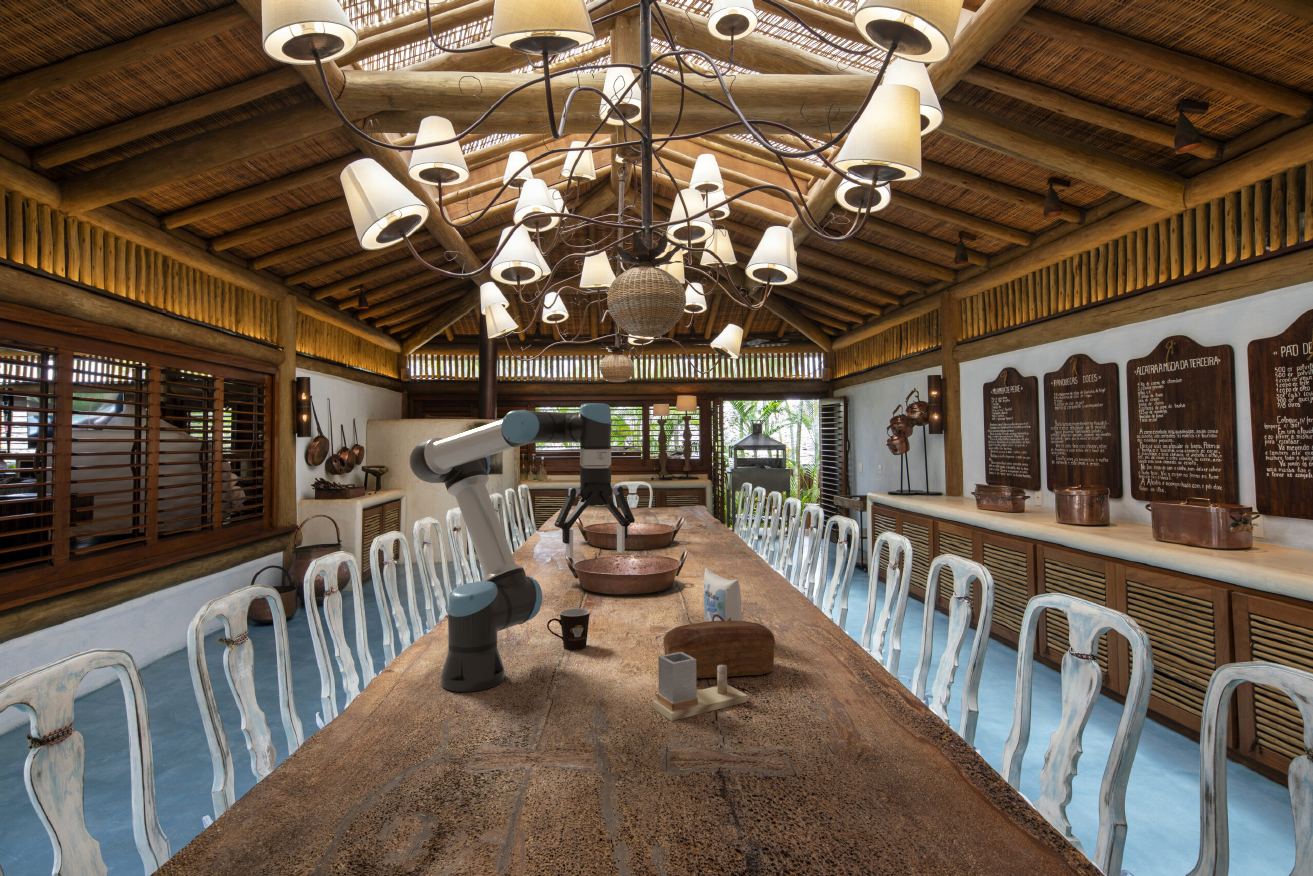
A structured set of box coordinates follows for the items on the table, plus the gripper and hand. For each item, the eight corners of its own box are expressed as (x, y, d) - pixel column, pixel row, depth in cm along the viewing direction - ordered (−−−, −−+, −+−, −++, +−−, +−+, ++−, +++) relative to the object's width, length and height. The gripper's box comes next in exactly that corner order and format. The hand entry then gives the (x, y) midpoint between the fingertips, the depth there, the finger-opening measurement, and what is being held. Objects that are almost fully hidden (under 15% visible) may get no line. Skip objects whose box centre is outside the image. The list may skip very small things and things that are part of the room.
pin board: (671, 721, 137) (671, 685, 137) (652, 707, 144) (652, 673, 144) (747, 701, 147) (746, 668, 147) (726, 690, 154) (725, 658, 154)
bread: (781, 678, 162) (780, 628, 163) (670, 685, 158) (670, 634, 158) (763, 659, 176) (762, 614, 176) (660, 666, 171) (660, 619, 172)
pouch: (720, 630, 203) (720, 566, 203) (749, 648, 185) (749, 578, 185) (697, 633, 200) (696, 568, 201) (724, 652, 183) (723, 580, 183)
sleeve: (672, 711, 138) (672, 664, 138) (657, 701, 144) (657, 656, 144) (697, 705, 141) (697, 659, 142) (682, 695, 147) (681, 651, 147)
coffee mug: (592, 642, 192) (592, 608, 192) (586, 652, 183) (586, 616, 183) (553, 641, 193) (553, 608, 193) (546, 651, 184) (546, 615, 184)
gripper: (552, 468, 149) (552, 561, 149) (648, 466, 161) (648, 552, 161) (541, 467, 155) (541, 556, 155) (633, 465, 168) (633, 548, 168)
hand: (595, 554), depth 158 cm, fingers open, 13 cm apart
